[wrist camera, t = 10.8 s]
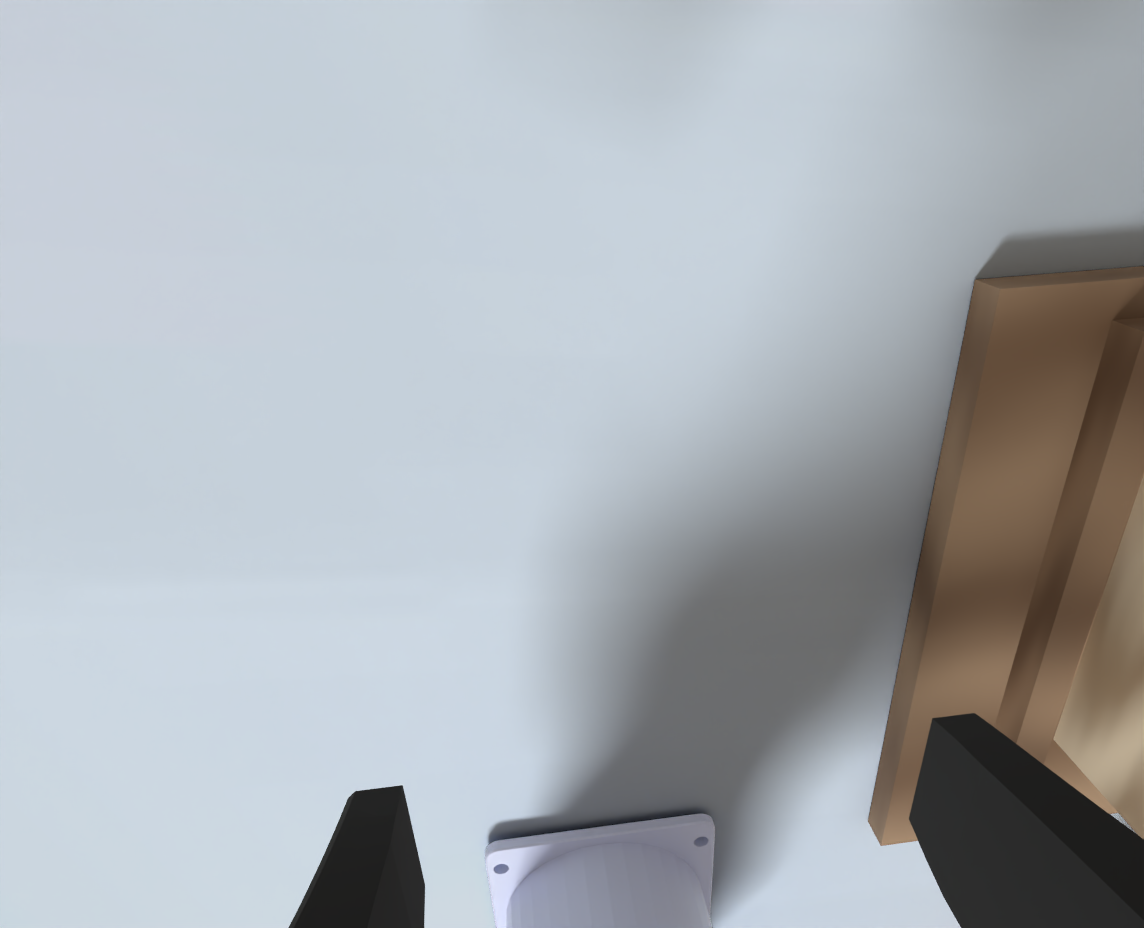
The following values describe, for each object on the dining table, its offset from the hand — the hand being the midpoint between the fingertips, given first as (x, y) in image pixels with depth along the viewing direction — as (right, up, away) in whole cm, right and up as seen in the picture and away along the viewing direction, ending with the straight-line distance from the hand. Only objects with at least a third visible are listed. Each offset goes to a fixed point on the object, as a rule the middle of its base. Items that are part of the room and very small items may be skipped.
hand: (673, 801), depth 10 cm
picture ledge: (+16, +1, +13) cm, 21 cm away
